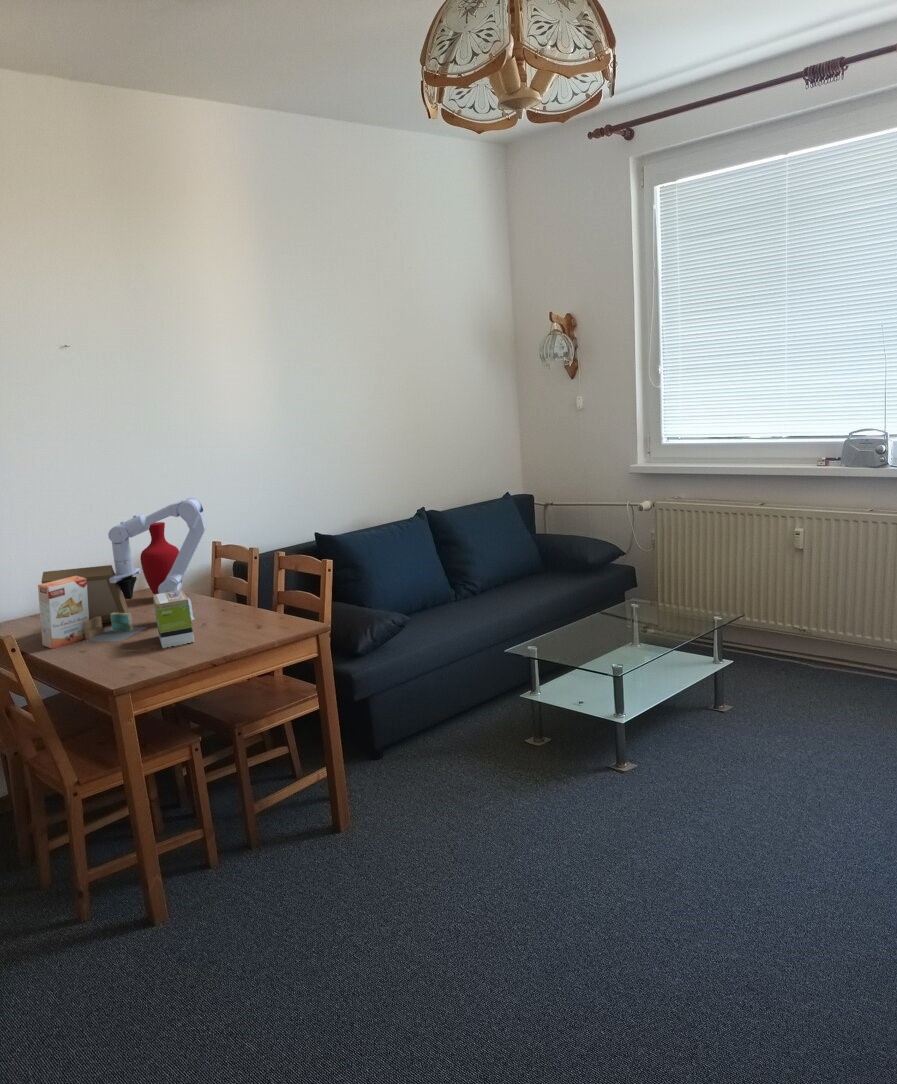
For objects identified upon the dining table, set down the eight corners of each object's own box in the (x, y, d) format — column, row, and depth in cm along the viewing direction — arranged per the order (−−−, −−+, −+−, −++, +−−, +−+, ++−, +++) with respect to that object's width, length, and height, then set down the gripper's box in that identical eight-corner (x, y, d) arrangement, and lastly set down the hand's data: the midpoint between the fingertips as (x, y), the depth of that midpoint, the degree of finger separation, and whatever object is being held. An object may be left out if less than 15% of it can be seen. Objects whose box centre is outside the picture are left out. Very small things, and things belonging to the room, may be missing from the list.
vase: (138, 604, 326) (128, 527, 321) (158, 594, 340) (147, 520, 335) (174, 603, 324) (164, 525, 318) (192, 593, 338) (182, 519, 332)
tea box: (157, 637, 278) (151, 593, 275) (189, 632, 281) (183, 588, 279) (161, 649, 264) (155, 603, 261) (195, 643, 268) (189, 597, 265)
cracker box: (53, 650, 271) (47, 587, 266) (41, 646, 274) (36, 584, 269) (91, 637, 283) (87, 577, 278) (80, 634, 286) (75, 574, 281)
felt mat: (148, 628, 290) (148, 627, 290) (119, 642, 275) (119, 641, 275) (112, 628, 294) (112, 627, 293) (82, 642, 278) (82, 641, 278)
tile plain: (99, 633, 286) (96, 616, 285) (103, 633, 286) (100, 616, 285) (85, 639, 280) (83, 622, 279) (89, 639, 279) (87, 622, 278)
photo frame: (128, 621, 301) (109, 589, 280) (64, 628, 298) (40, 597, 277) (129, 584, 309) (111, 550, 287) (66, 590, 305) (43, 557, 284)
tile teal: (133, 629, 288) (131, 612, 287) (130, 631, 286) (127, 614, 285) (115, 629, 290) (113, 612, 288) (112, 631, 288) (109, 614, 287)
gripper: (126, 555, 297) (131, 593, 300) (99, 564, 284) (105, 604, 286) (143, 555, 296) (148, 593, 298) (117, 564, 282) (123, 604, 284)
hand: (128, 598), depth 292 cm, fingers closed
